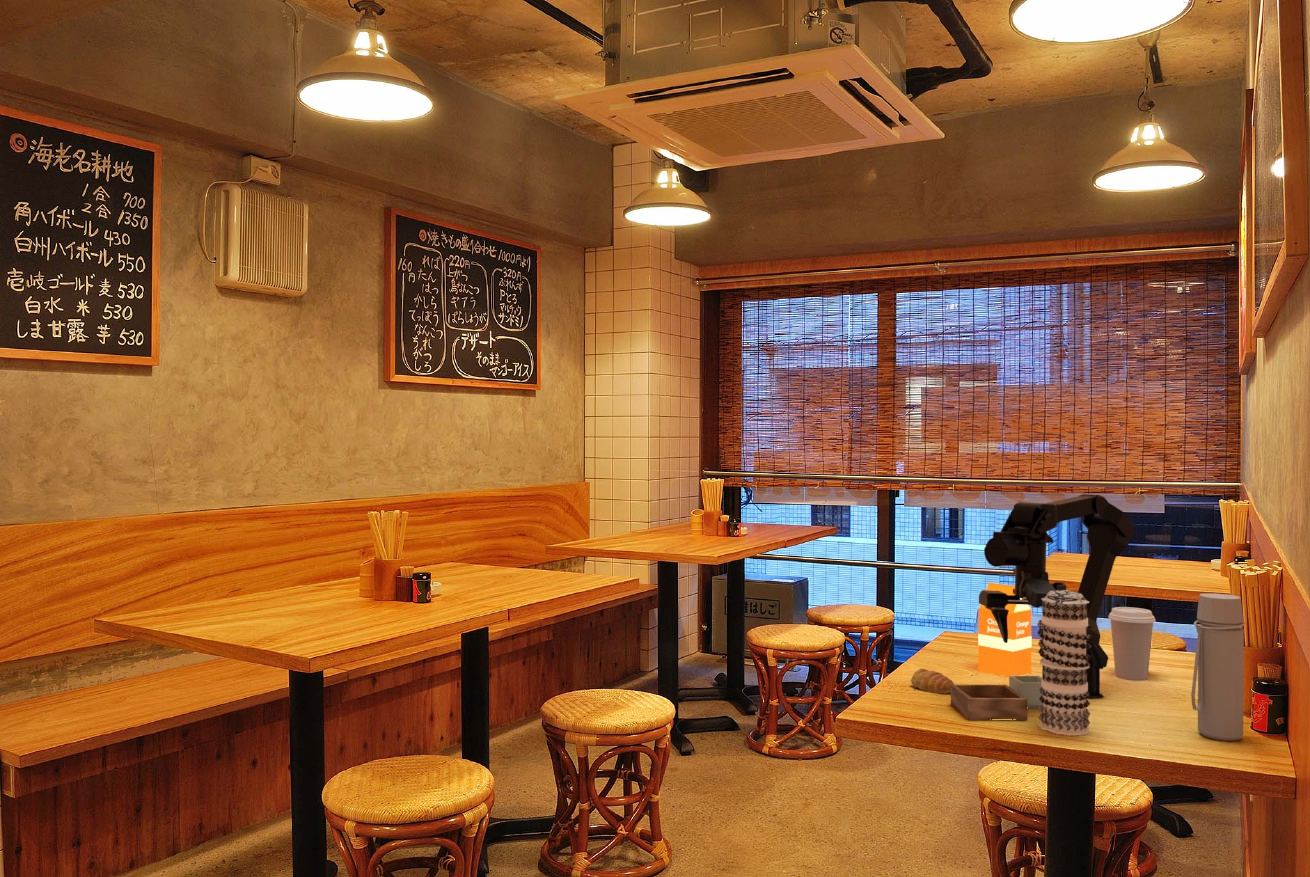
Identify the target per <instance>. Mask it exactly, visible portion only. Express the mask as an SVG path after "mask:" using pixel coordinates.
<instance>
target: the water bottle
mask: <svg viewBox="0 0 1310 877" xmlns="http://www.w3.org/2000/svg"><path fill="white" fill-rule="evenodd" d="M1198 623H1199V624H1198ZM1245 624H1246V622H1245V621H1244V616H1243V606H1242V598H1241V596H1238V595H1233V594H1226V593H1225V594H1224V593H1210V592H1209V593H1200V594H1199V596H1198V604H1197V613H1196V620H1195V621H1194V622H1193V626H1194V627H1195V628H1196V633H1197V638H1196V647H1195V658H1194V666H1193V675H1192V676H1193V677H1192V685H1191V694H1190V698H1191V705H1192V709H1193V710H1194V711H1197V731H1198V732H1199V734H1201V735H1203V736H1204V737H1205V738H1208V739H1211V740H1217V741H1223V742H1225V741H1226V742H1234V741H1239V740H1241V739H1242V738H1243V736H1244V677H1245V676H1244V668H1245V667H1244V666H1245V665H1244V657H1245V656H1244V655H1245V654H1244V649H1245V648H1244V644H1245V643H1244V640H1245V639H1244V634H1245V633H1244V632H1245V631H1244V630H1245V629H1244V628H1242V627H1244V626H1245ZM1196 687H1197V705H1196Z"/></svg>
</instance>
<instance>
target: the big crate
mask: <svg viewBox="0 0 1310 877" xmlns="http://www.w3.org/2000/svg"><path fill="white" fill-rule="evenodd" d="M950 705H951V706H952V707H953V708H954V709H955V710H957V711H958V713H960V714H961V715H962V716H963V717H964V718H965V719H967V720H968V721H987V720H990V719H991V720H992V719H1012V720H1013V719H1016V720H1027V721H1028V708H1027V699H1026V698H1025V697H1023V696H1022V695H1020V694H1019V693H1017V692H1016V691H1014V690H1013V689H1011V688H1010V687H1009V685H1007V684H955V685H951V692H950Z"/></svg>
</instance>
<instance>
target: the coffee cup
mask: <svg viewBox="0 0 1310 877" xmlns="http://www.w3.org/2000/svg"><path fill="white" fill-rule="evenodd" d="M1108 619H1109V620H1110V626H1111V627H1110V628H1111V638H1112V639H1111V640H1112V649H1113V650H1112V651H1113V661H1114V663H1113V664H1114V675H1115V677H1117V678H1118V679H1119V678H1120V679H1123V680H1127V681H1129V680H1130V681H1146V680H1148V679H1149V670H1150V669H1149V667H1150V658H1151V649H1152V648H1151V647H1152V639H1153V638H1152V637H1153V628H1154V623H1156V621H1157V620H1156V618H1155V616H1154V615H1153V612H1152V611H1151V610H1150V609H1146V608H1142V607H1141V608H1140V607H1129V606H1118V607H1117V606H1115V607H1112V608H1111V612H1110V613H1109V614H1108Z"/></svg>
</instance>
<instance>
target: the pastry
mask: <svg viewBox="0 0 1310 877" xmlns="http://www.w3.org/2000/svg"><path fill="white" fill-rule="evenodd" d="M910 682H911V684H912V685H913V687H914V688H915V689H917V688H918V689H919V690H920V691H924V692H928V691H929V693H933V694H937V693H938V694H945V695H946V694H951V685H956V684H955V683H954V682H953V680H952V679H951V678H949V677H948V676H945V675H944V674H943V673H942V672H938V671H934V670H928V669H925V668H919V669H917V670H916V671H915V672H914V673H913V675H912V677H911V679H910Z"/></svg>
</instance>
